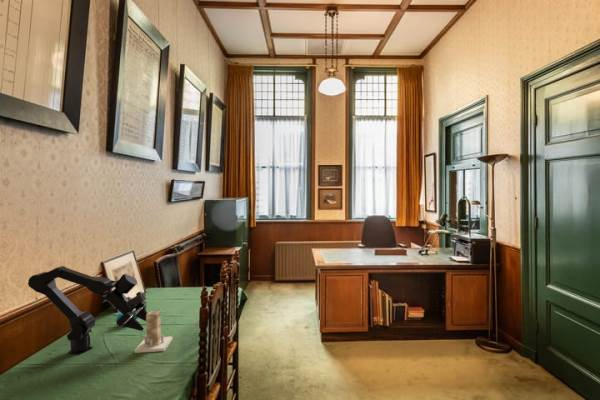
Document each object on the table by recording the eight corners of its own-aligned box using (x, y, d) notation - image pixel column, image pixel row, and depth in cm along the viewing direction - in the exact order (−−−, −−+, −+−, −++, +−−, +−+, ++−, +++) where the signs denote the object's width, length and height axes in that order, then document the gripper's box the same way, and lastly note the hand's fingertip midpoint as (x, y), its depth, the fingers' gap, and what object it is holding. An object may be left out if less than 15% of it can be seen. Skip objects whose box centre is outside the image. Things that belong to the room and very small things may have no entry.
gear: (141, 317, 179) (133, 308, 172) (140, 328, 175) (132, 319, 167) (119, 321, 178) (111, 313, 170) (117, 332, 174) (108, 324, 166)
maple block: (147, 345, 145) (146, 315, 145) (151, 341, 149) (149, 311, 149) (157, 344, 145) (156, 314, 145) (161, 340, 150) (160, 310, 149)
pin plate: (134, 352, 141) (134, 342, 141) (145, 340, 153) (144, 331, 153) (164, 350, 142) (163, 340, 142) (172, 339, 154) (172, 329, 154)
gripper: (123, 293, 137) (152, 319, 138) (141, 282, 156) (166, 305, 157) (103, 314, 136) (133, 340, 137) (124, 300, 155) (149, 323, 156)
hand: (146, 325), depth 147 cm, fingers open, 9 cm apart
